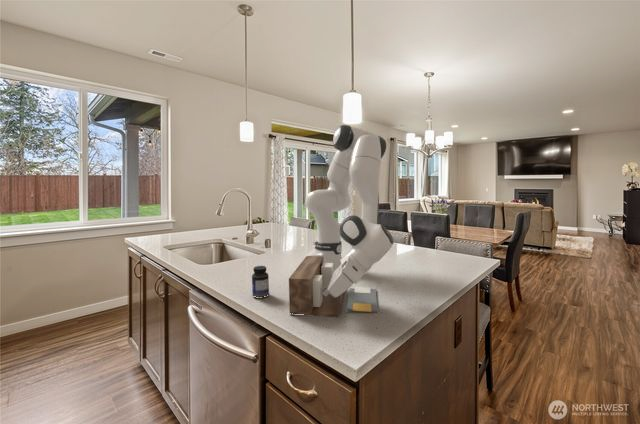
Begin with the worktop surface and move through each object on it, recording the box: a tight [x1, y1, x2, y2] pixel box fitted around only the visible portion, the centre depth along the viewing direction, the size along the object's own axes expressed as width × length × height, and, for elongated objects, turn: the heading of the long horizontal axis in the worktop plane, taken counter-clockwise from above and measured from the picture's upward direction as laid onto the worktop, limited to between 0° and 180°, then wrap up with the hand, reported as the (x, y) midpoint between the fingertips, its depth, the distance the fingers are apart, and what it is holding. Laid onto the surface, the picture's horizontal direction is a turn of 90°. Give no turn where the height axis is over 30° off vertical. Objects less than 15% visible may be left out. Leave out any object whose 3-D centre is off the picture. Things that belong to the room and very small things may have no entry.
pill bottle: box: [251, 265, 270, 297], centre depth 114 cm, size 6×6×11 cm
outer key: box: [313, 275, 323, 307], centre depth 103 cm, size 4×6×9 cm, turn 172°
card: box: [346, 286, 378, 313], centre depth 109 cm, size 10×22×1 cm, turn 171°
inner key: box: [321, 263, 333, 290], centre depth 118 cm, size 4×6×9 cm, turn 172°
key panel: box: [288, 255, 345, 318], centre depth 110 cm, size 16×30×12 cm, turn 171°
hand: (324, 293), depth 102 cm, fingers closed
